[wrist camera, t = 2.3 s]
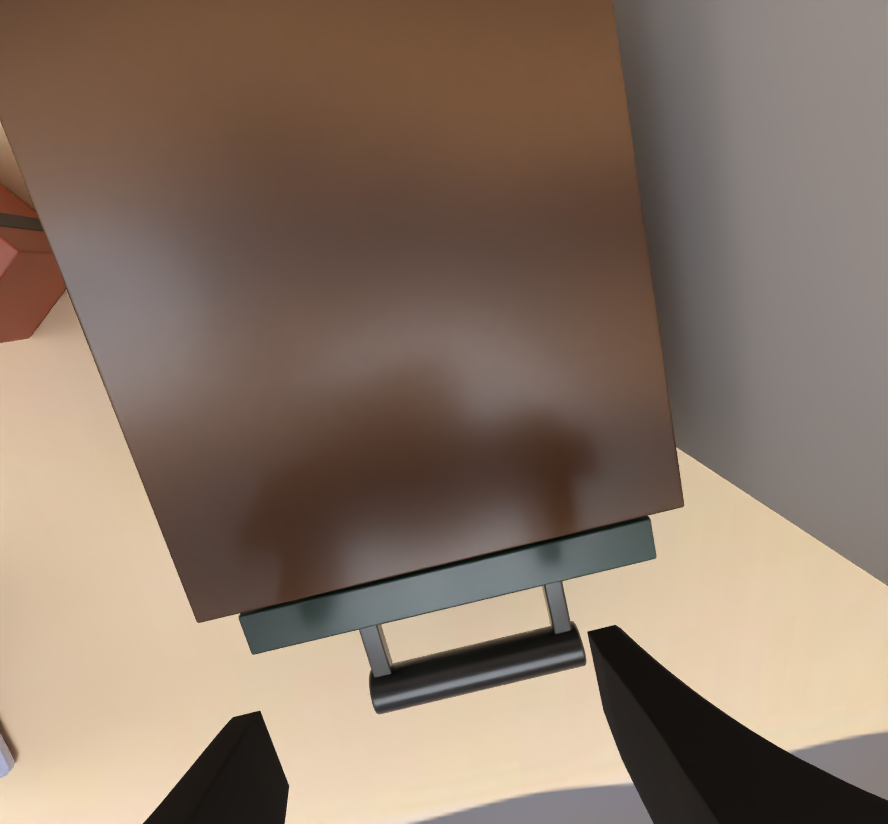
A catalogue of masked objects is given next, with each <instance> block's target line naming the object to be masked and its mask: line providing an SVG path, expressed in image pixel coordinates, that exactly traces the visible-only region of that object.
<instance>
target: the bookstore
mask: <svg viewBox="0 0 888 824" xmlns="http://www.w3.org/2000/svg"><path fill="white" fill-rule="evenodd" d="M613 6H614V13H615V21H616V28H617V35H618V42H619V49H620V56H621V63H622V70H623V77H624V84H625V91H626V98H627V105H628V112H629V119H630V126H631V133H632V140H633V147H634V154H635V161H636V169H637V176H638V183H639V190H640V197H641V204H642V211H643V218H644V225H645V232H646V239H647V246H648V253H649V260H650V267H651V274H652V281H653V288H654V295H655V302H656V309H657V317H658V324H659V331H660V338H661V345H662V352H663V359H664V366H665V373H666V380H667V387H668V394H669V401H670V408H671V415H672V422H673V429H674V436H675V443H676V447H677V448H679V449H680V450H682V451H683V452H685V453H686V454H688V455H689V456H691V457H693V458H694V459H696V460H697V461H699V462H700V463H702V464H703V465H705V466H706V467H708V468H709V469H711V470H712V471H714V472H715V473H717V474H718V475H720V476H721V477H723V478H724V479H726V480H728V481H729V482H731V483H732V484H734V485H735V486H737V487H738V488H740V489H741V490H743V491H744V492H746V493H747V494H749V495H750V496H752V497H753V498H755V499H756V500H758V501H759V502H761V503H763V504H764V505H766V506H767V507H769V508H770V509H772V510H773V511H775V512H776V513H778V514H779V515H781V516H782V517H784V518H785V519H787V520H788V521H790V522H791V523H793V524H795V525H796V526H798V527H799V528H801V529H802V530H804V531H805V532H807V533H808V534H810V535H811V536H813V537H814V538H816V539H817V540H819V541H820V542H822V543H823V544H825V545H826V546H828V547H830V548H831V549H833V550H834V551H836V552H837V553H839V554H840V555H842V556H843V557H845V558H846V559H848V560H849V561H851V562H852V563H854V564H855V565H857V566H858V567H860V568H861V569H863V570H865V571H866V572H868V573H869V574H871V575H872V576H874V577H875V578H877V579H878V580H880V581H881V582H883V583H884V584H886V585H887V586H888V0H613Z"/></svg>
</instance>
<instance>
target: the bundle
mask: <svg viewBox="0 0 888 824" xmlns="http://www.w3.org/2000/svg"><path fill="white" fill-rule="evenodd" d="M65 289H66V287H65V284H64V282H63V279H62V276H61V274H60V271H59V269H58V266H57V264H56V261H55V259H54V256H53V253H52V251H51V248H50V246H49V243H48V241H47V238H46V236H45V233H44V230H43V228H42V225H41V223H40V220H39V218H38V215H37V213H36V212H35V211H34V210H33V209H32V208H30V207H29V206H28V205H27V204H25V203H24V202H23V201H22V200H20V199H19V198H18V197H17V196H15V195H14V194H13V193H12V192H10V191H9V190H8V189H7V188H5V187H4V186H3V185H2V184H0V343H3V342H9V341H15V340H22V339H28V338H30V337H31V335H32V334H33V332H34V331H35V330H36V328H37V327H38V326H39V324H40V323H41V322H42V320H43V319H44V318H45V316H46V315H47V314H48V312H49V311H50V310H51V308H52V307H53V306H54V304H55V303H56V301H57V300H58V299H59V297H60V296H61V295H62V293H63V292H64V291H65Z"/></svg>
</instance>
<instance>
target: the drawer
mask: <svg viewBox="0 0 888 824" xmlns="http://www.w3.org/2000/svg"><path fill="white" fill-rule="evenodd" d="M655 558H656V551H655V544H654V538H653V532H652V526H651V519H650V518H649V517H648V516H643V517H639V518H635V519H631V520H626V521H622V522H618V523H614V524H610V525H606V526H601V527H597V528H593V529H589V530H585V531H580V532H576V533H572V534H568V535H564V536H560V537H555V538H551V539H547V540H543V541H539V542H535V543H530V544H526V545H522V546H518V547H514V548H509V549H505V550H501V551H497V552H493V553H489V554H484V555H480V556H476V557H472V558H468V559H464V560H459V561H455V562H451V563H447V564H443V565H438V566H434V567H430V568H426V569H422V570H418V571H413V572H409V573H405V574H401V575H397V576H393V577H388V578H384V579H380V580H376V581H372V582H368V583H363V584H359V585H355V586H351V587H347V588H342V589H338V590H334V591H330V592H326V593H322V594H317V595H313V596H309V597H305V598H301V599H297V600H292V601H288V602H284V603H280V604H276V605H271V606H267V607H263V608H259V609H255V610H251V611H246V612H242V613H240V615H239V621H240V623H241V626H242V629H243V631H244V634H245V637H246V639H247V642H248V645H249V648H250V650H251V653H252V654H253V655H254V654H258V653H262V652H267V651H271V650H275V649H279V648H283V647H288V646H292V645H296V644H300V643H304V642H308V641H313V640H317V639H321V638H325V637H329V636H334V635H338V634H342V633H346V632H350V631H355V630H359V631H360V634H361V638H362V641H363V644H364V647H365V650H366V654H367V657H368V660H369V663H370V666H371V671H370V675H369V688H370V695H371V700H372V704H373V707H374V709H375V711H376V713H377V714H383V713H388V712H392V711H396V710H400V709H404V708H409V707H413V706H417V705H421V704H426V703H430V702H434V701H438V700H442V699H447V698H451V697H455V696H459V695H463V694H468V693H472V692H476V691H480V690H484V689H489V688H493V687H497V686H501V685H506V684H510V683H514V682H518V681H522V680H527V679H531V678H535V677H539V676H543V675H548V674H552V673H556V672H560V671H565V670H569V669H573V668H577V667H581V666H585V665H586V655H585V651H584V647H583V643H582V640H581V637H580V634H579V631H578V628H577V626H576V624H575V623H574V622H573V621H570V617H569V612H568V608H567V603H566V598H565V593H564V588H563V583H562V581H564V580H568V579H572V578H577V577H581V576H585V575H589V574H593V573H597V572H602V571H606V570H610V569H614V568H618V567H623V566H627V565H631V564H635V563H639V562H644V561H648V560H652V559H655ZM539 586H542V587H543V592H544V597H545V601H546V606H547V610H548V615H549V620H550V624H551V626H548V627H544V628H540V629H536V630H532V631H527V632H523V633H519V634H515V635H511V636H506V637H502V638H498V639H494V640H490V641H485V642H481V643H477V644H473V645H469V646H464V647H460V648H456V649H452V650H448V651H443V652H439V653H435V654H431V655H427V656H423V657H418V658H414V659H410V660H406V661H402V662H397V663H393V664H392V659H391V656H390V653H389V649H388V646H387V643H386V639H385V636H384V633H383V629H382V626H381V624H384V623H388V622H392V621H396V620H401V619H405V618H409V617H413V616H417V615H422V614H426V613H430V612H434V611H438V610H442V609H447V608H451V607H455V606H459V605H463V604H468V603H472V602H476V601H480V600H484V599H489V598H493V597H497V596H501V595H505V594H509V593H514V592H518V591H522V590H526V589H530V588H535V587H539Z"/></svg>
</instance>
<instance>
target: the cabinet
mask: <svg viewBox="0 0 888 824" xmlns="http://www.w3.org/2000/svg"><path fill="white" fill-rule="evenodd" d="M0 121H1V123H2V126H3V128H4V131H5V134H6V136H7V139H8V141H9V144H10V146H11V149H12V151H13V154H14V157H15V159H16V162H17V164H18V167H19V169H20V172H21V174H22V177H23V179H24V182H25V185H26V187H27V190H28V192H29V195H30V197H31V200H32V202H33V205H34V208H35V210H36V213H37V215H38V218H39V220H40V223H41V225H42V228H43V230H44V233H45V236H46V238H47V241H48V243H49V246H50V248H51V251H52V253H53V256H54V259H55V261H56V264H57V266H58V269H59V271H60V274H61V276H62V279H63V282H64V284H65V287H66V289H67V292H68V294H69V297H70V299H71V302H72V304H73V307H74V310H75V312H76V315H77V317H78V320H79V322H80V325H81V327H82V330H83V333H84V335H85V338H86V340H87V343H88V345H89V348H90V350H91V353H92V355H93V358H94V361H95V363H96V366H97V368H98V371H99V373H100V376H101V378H102V381H103V384H104V386H105V389H106V391H107V394H108V396H109V399H110V401H111V404H112V406H113V409H114V412H115V414H116V417H117V419H118V422H119V424H120V427H121V429H122V432H123V435H124V437H125V440H126V442H127V445H128V447H129V450H130V452H131V455H132V457H133V460H134V463H135V465H136V468H137V470H138V473H139V475H140V478H141V480H142V483H143V486H144V488H145V491H146V493H147V496H148V498H149V501H150V503H151V506H152V508H153V511H154V514H155V516H156V519H157V521H158V524H159V526H160V529H161V531H162V534H163V537H164V539H165V542H166V544H167V547H168V549H169V552H170V554H171V557H172V559H173V562H174V565H175V567H176V570H177V572H178V575H179V577H180V580H181V582H182V585H183V588H184V590H185V593H186V595H187V598H188V600H189V603H190V605H191V608H192V610H193V613H194V616H195V618H196V621H197V622H198V623H200V622H205V621H209V620H213V619H217V618H221V617H226V616H230V615H234V614H238V613H242V612H246V611H251V610H255V609H259V608H263V607H267V606H271V605H276V604H280V603H284V602H288V601H292V600H297V599H301V598H305V597H309V596H313V595H317V594H322V593H326V592H330V591H334V590H338V589H342V588H347V587H351V586H355V585H359V584H363V583H368V582H372V581H376V580H380V579H384V578H388V577H393V576H397V575H401V574H405V573H409V572H413V571H418V570H422V569H426V568H430V567H434V566H438V565H443V564H447V563H451V562H455V561H459V560H464V559H468V558H472V557H476V556H480V555H484V554H489V553H493V552H497V551H501V550H505V549H509V548H514V547H518V546H522V545H526V544H530V543H535V542H539V541H543V540H547V539H551V538H555V537H560V536H564V535H568V534H572V533H576V532H580V531H585V530H589V529H593V528H597V527H601V526H606V525H610V524H614V523H618V522H622V521H626V520H631V519H635V518H639V517H643V516H647V515H651V514H656V513H660V512H664V511H668V510H672V509H676V508H681V507H683V506H684V500H683V493H682V486H681V479H680V472H679V465H678V457H677V450H676V443H675V436H674V429H673V422H672V415H671V408H670V401H669V394H668V387H667V380H666V373H665V366H664V359H663V352H662V345H661V338H660V331H659V324H658V317H657V309H656V302H655V295H654V288H653V281H652V274H651V267H650V260H649V253H648V246H647V239H646V232H645V225H644V218H643V211H642V204H641V197H640V190H639V183H638V176H637V169H636V161H635V154H634V147H633V140H632V133H631V126H630V119H629V112H628V105H627V98H626V91H625V84H624V77H623V70H622V63H621V56H620V49H619V42H618V35H617V28H616V21H615V13H614V6H613V0H0Z"/></svg>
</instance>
